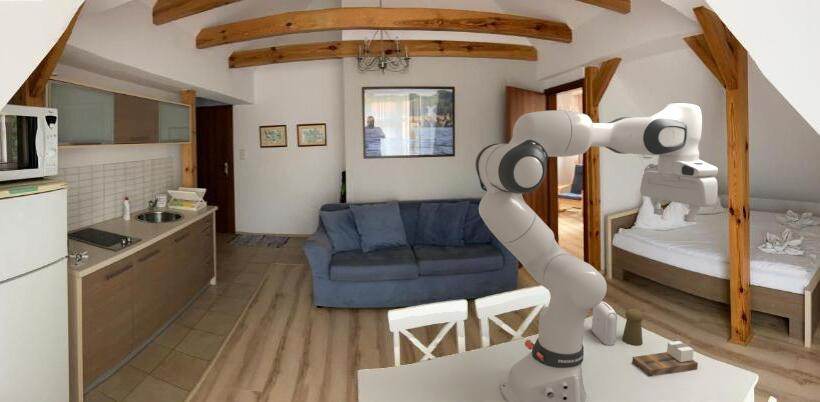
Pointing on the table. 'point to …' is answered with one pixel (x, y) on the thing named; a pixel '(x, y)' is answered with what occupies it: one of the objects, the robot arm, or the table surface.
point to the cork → (633, 327)
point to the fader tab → (680, 351)
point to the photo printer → (604, 323)
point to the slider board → (662, 364)
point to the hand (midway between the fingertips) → (672, 217)
